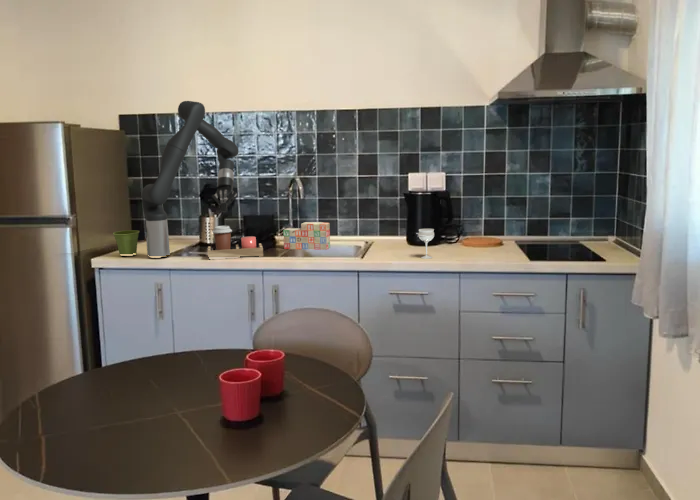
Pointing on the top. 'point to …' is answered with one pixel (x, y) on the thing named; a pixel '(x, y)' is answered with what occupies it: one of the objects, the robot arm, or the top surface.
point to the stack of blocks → (308, 236)
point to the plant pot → (127, 241)
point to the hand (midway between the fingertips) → (223, 211)
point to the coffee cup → (222, 237)
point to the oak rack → (236, 252)
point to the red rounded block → (248, 242)
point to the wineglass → (426, 238)
